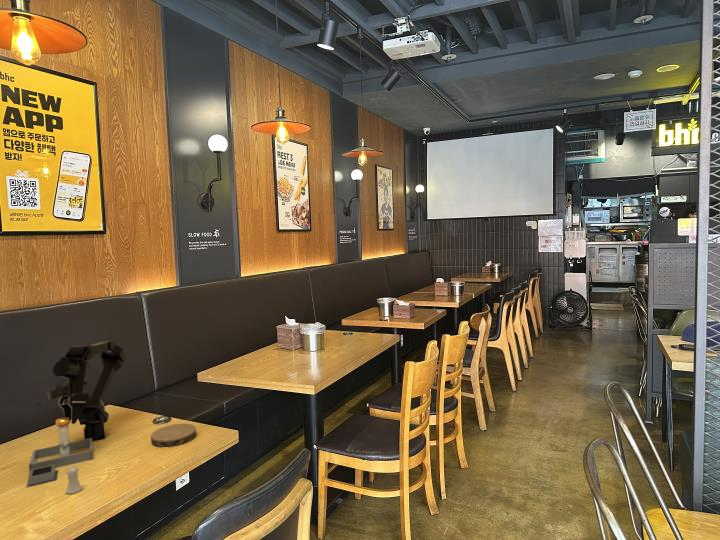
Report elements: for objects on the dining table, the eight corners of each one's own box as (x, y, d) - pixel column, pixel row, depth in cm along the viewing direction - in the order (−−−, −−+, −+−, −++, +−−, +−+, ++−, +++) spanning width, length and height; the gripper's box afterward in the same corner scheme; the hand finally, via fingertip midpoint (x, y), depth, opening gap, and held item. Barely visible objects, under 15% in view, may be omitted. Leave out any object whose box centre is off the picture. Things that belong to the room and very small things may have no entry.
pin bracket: (58, 473, 157) (57, 462, 157) (57, 483, 150) (56, 472, 150) (29, 479, 153) (28, 469, 153) (26, 490, 146) (25, 479, 146)
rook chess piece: (70, 490, 145) (68, 465, 144) (85, 489, 145) (83, 464, 145) (62, 498, 140) (60, 472, 140) (78, 497, 141) (76, 471, 140)
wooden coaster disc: (169, 451, 170) (168, 443, 170) (142, 443, 179) (141, 435, 178) (205, 435, 184) (204, 427, 183) (178, 428, 192) (177, 421, 192)
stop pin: (72, 456, 167) (69, 416, 166) (72, 460, 164) (69, 419, 163) (59, 459, 165) (55, 418, 164) (58, 464, 162) (55, 422, 161)
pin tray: (92, 448, 175) (92, 437, 175) (93, 461, 164) (92, 450, 164) (34, 461, 166) (33, 450, 166) (30, 476, 155) (29, 464, 155)
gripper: (45, 381, 175) (37, 425, 170) (57, 375, 163) (49, 423, 158) (79, 382, 183) (72, 424, 178) (93, 377, 170) (86, 423, 165)
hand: (69, 424), depth 169 cm, fingers open, 9 cm apart
